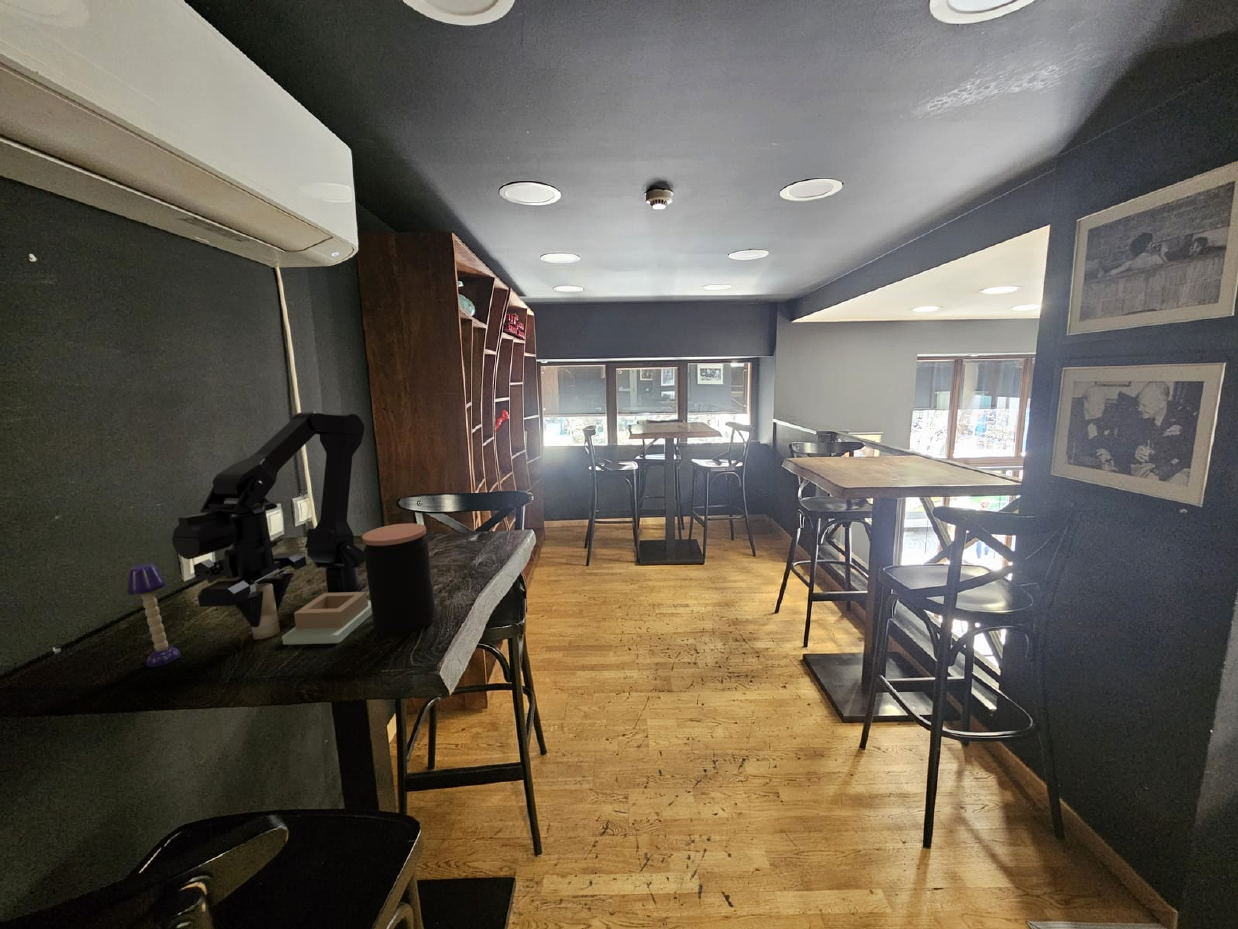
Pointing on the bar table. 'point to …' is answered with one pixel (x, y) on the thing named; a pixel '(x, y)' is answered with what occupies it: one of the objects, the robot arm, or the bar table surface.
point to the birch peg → (267, 614)
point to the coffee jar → (399, 578)
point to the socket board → (329, 618)
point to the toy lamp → (152, 610)
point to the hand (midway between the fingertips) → (264, 621)
